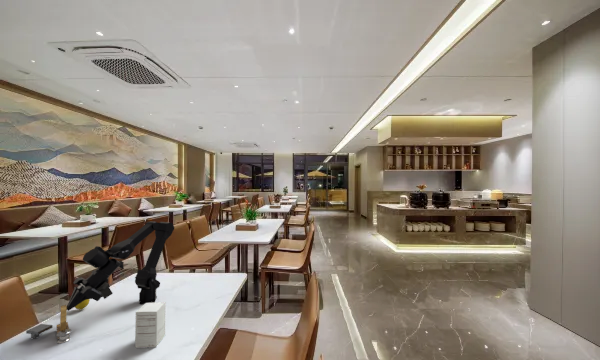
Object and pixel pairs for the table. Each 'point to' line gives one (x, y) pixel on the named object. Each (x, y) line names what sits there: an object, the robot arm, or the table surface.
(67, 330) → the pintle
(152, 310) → the supplement box
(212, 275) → the table surface
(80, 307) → the lemon
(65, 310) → the link
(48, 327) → the block
